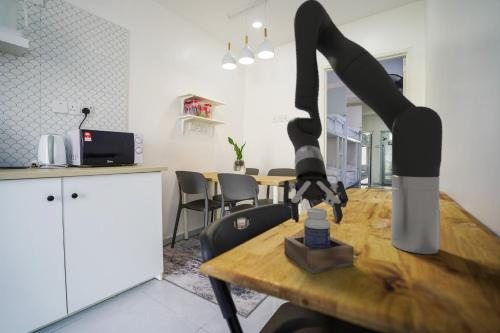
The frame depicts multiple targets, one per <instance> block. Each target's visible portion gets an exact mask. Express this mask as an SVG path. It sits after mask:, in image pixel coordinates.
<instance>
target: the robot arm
mask: <svg viewBox="0 0 500 333" xmlns="http://www.w3.org/2000/svg"><path fill="white" fill-rule="evenodd" d="M293 34H294V43H295V62H296V64H295V65H296V67H295V68H296V69H295V71H296V74H295V77H296V78H295V91H294V107H295V109H297V110H299V111H304V112H306V113H307V114H308V116H309V117H300V116H299V117H298V116H297V117H296V116H295V117H292V118H291V119H290V120H288V122H287V125H286V126H287V127H286V131H287V137H288V138H289V140H290V142H291V144H292V146H293V148H294V169H295V170H294V171H295V182H290V181H289V180H284V182H283V194H282V196H283V198H282V202H283V203H282V206H283V207H289V208H290V209H291V220H292V221H294V223H297V224H298V223H299V220H300V215H299V213H300V212H299V205H300V204H302V203H303V201H305V200H306V201H318V202H319V201H322V202H324V203H325V204H326V205H329V206H330V207H331V208H332V213H333V218H334V223H335V225H337V224H338V225H340V223H341V222H342V220H343V217H344V214H343V211H342V210H343V209H342V208H346V207H347V205H348V204H347V203H349V197H348V194H347V191H346V188H345V186H344V182H343V181H342V180H337V182H335V183H334V182H333V183H331V182H330V181H329V179H328V176H327V170H326V165H325V161H324V157H323V154H322V151H321V146H320V141H319V139H320V137H321V136H322V134H323V126H322V121H321V116H320V110H319V109H320V108H319V94H320V93H319V92H320V72H319V66H318V57H317V51H318V52H319V53H320V55H323V57H324V58H325V59H326V61H327V62H328V64H329V65H330V67H331V69H332V70H333V72H334V73H335V75H336V76H337V77H338V79H339V80H340V81H341V83H343V85H345V87H347V88H348V89H349V91H350V92H352V93H353V94H354V96H356V97H357V98H358V99H359V101H361V102H362V103H363V104H365V105H366V106H367V107H368V108H370V109H371V110H372V111H373V112H374V113H375V114H377V116H378V118H380V119H381V121H382V123H384V125H385V126H386V128H388V131H389V132H390V133H391V218H390V219H391V220H390V221H391V223H390V225H391V226H390V227H391V229H390V244H391V245H392V246H393V247H395V248H397V249H399V250H402V251H404V252H405V251H406V252H410V253H414V254H419V255H420V254H421V255H434V254H437V253H439V249H440V248H441V247H440V246H441V245H440V244H441V243H440V242H441V238H440V237H441V209H440V175H441V174H440V173H441V165H442V158H443V157H442V155H443V154H442V152H443V151H442V150H443V147H442V146H443V121H442V118H441V116H440V115H439V114H438V113H439V112H437V111H436V110H434V109H433V108H430V107H427V106H422V105H421V106H420V105H419V106H417V105H415V104H414V103H413V102H412V101H411V100H409V98H407V97H406V96H405V95H404V94H403V93H402V92H401V91H400V89H399V88H398V86H397V85H396V84H395V81H394V80H393V79H392V77H391V76H390V74H389V72H387V70H386V69H385V67H384V66H383V64H382V63H381V62H380V61H379V60H378V59H377V58H376V57H375V56H373V55H372V54H371V53H370V52H369V50H367V48H364V47H363V46H362V45H360V44H359V43H357V42H356V41H353V40H352V39H349V38H347V37H346V36H345V35H344V33H342V32H341V30H340V29H339V28H338V27H337V25H336V24H335V22H334V21H333V19H332V18H331V17H330V15H329V13H328V12H327V10H326V8H325V7H324V6H323V5H322V4H321V3H320V1H318V0H305V1H304V2H302V3H301V4H300V5H299V6H298V8H297V9H296V11H295V14H294V18H293ZM293 190H295V191H296V194H295V195H294V196H293V197H292V198H290V197H289V196H290V193H291V192H292V191H293ZM332 190H333V191H334V192H333V191H332ZM334 193H335V194H337V196H335V194H334Z"/></svg>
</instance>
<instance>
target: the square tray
mask: <svg viewBox="0 0 500 333" xmlns="http://www.w3.org/2000/svg"><path fill="white" fill-rule="evenodd" d="M283 244H284V247H283V248H284V249H283V250H284V251H283V252H284V254H285V255H286V256H287V257H289V258H290V259H292V260H293V261H294V262H296V264H298V265H300V266H301V267H302V268H303V269H305V270H306V271H308V273H310V274H316V273H322V272H325V271H330V270H335V269H339V268H340V269H341V268H346V267H349V266H350V267H351V266H353V265H354V253H355V252H354V249H355V248H354V246H353V245H351V244H349V243H346V242H343V241H341V240H339V239H337V238H334V237H332V236H330V248H325V249H319V250H312V249H310V248H309V247H307V246H305V245H304V234H299V235H293V236H284V242H283Z"/></svg>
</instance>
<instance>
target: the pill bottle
mask: <svg viewBox="0 0 500 333" xmlns="http://www.w3.org/2000/svg"><path fill="white" fill-rule="evenodd" d="M327 211H328V210H327V209H324V208H317V207H311V208H308V209H307V210H306V215H307V218H305V219H304V221H303V235H304V245H305V246H307V247H309V248H310V249H312V250H319V249H325V248H330V237H331V223H330V221H328V219H327V217H328V212H327Z"/></svg>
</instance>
